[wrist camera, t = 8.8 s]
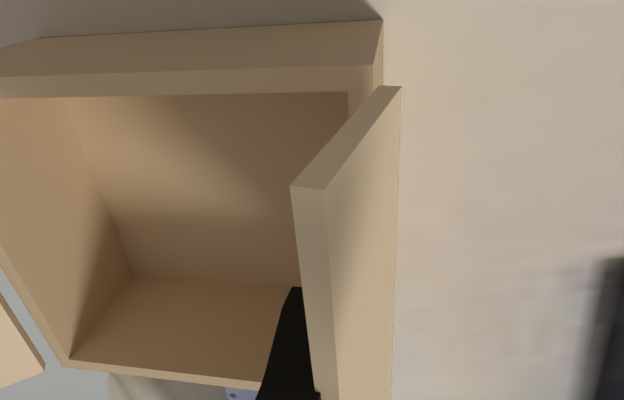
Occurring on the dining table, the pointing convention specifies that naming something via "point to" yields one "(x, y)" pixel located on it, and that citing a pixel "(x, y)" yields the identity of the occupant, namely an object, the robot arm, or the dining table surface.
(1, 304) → the far flap
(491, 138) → the dining table surface
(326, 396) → the near flap
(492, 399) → the dining table surface
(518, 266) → the dining table surface
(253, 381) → the carton
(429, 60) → the dining table surface
